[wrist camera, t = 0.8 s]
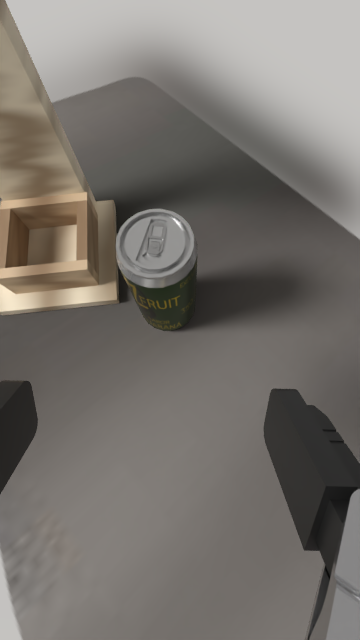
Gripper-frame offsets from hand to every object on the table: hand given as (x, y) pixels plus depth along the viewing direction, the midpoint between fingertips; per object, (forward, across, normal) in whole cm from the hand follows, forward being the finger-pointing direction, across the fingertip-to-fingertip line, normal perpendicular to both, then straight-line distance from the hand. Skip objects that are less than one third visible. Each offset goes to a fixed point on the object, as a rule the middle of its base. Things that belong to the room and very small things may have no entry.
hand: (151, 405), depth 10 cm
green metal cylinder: (+20, 0, +4) cm, 20 cm away
